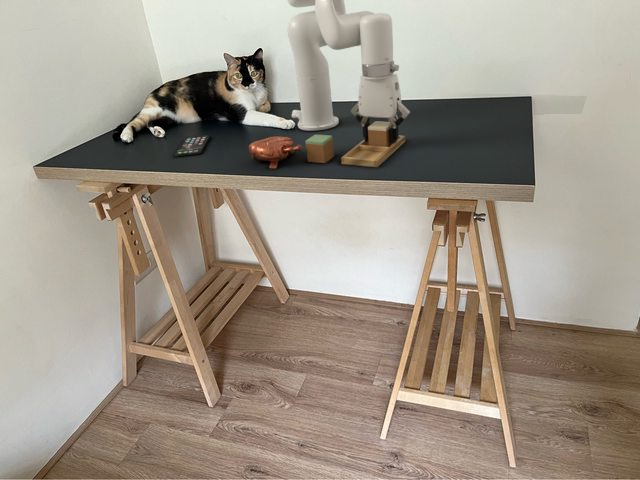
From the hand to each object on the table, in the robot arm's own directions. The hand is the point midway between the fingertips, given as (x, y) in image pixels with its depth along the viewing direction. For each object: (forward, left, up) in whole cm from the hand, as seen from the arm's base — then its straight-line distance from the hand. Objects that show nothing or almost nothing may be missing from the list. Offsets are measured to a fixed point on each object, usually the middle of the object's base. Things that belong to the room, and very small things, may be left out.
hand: (380, 140), depth 128 cm
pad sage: (-11, -12, -2) cm, 17 cm away
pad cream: (0, 0, -1) cm, 1 cm away
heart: (-22, -15, -2) cm, 27 cm away
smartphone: (-54, -12, -2) cm, 56 cm away
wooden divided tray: (0, -4, -2) cm, 5 cm away
